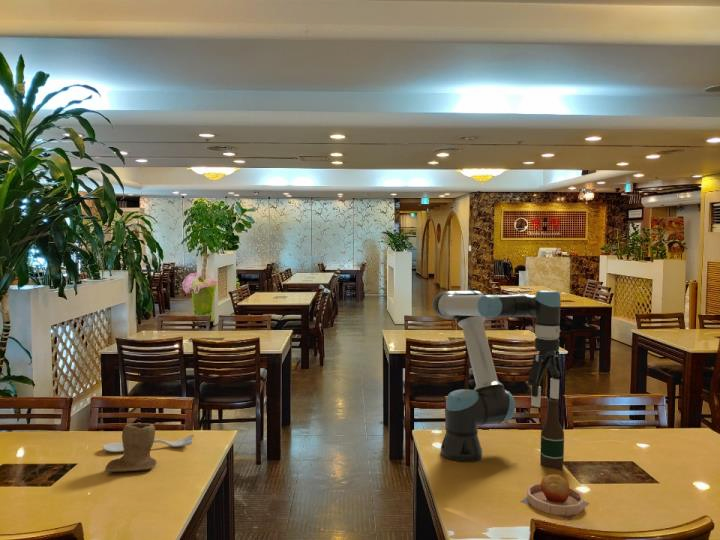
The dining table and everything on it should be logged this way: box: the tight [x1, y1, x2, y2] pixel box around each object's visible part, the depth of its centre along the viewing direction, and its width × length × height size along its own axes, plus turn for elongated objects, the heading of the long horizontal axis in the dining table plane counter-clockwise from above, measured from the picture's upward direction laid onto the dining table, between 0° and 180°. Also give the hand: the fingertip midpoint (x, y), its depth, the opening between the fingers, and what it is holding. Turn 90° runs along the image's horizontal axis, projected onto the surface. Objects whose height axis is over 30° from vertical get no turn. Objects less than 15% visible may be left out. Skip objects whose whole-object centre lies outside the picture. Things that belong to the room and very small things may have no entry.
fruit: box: [540, 474, 571, 502], centre depth 155 cm, size 8×8×8 cm
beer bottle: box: [539, 398, 565, 472], centre depth 183 cm, size 8×8×24 cm
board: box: [520, 496, 590, 520], centre depth 155 cm, size 15×14×1 cm
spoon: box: [101, 434, 195, 453], centre depth 196 cm, size 9×32×4 cm, turn 103°
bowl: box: [526, 482, 585, 516], centre depth 155 cm, size 16×16×2 cm
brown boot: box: [104, 422, 157, 473], centre depth 178 cm, size 15×12×15 cm
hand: (545, 402), depth 171 cm, fingers open, 13 cm apart
